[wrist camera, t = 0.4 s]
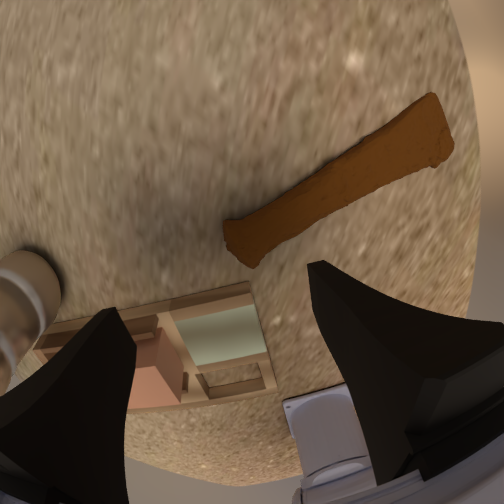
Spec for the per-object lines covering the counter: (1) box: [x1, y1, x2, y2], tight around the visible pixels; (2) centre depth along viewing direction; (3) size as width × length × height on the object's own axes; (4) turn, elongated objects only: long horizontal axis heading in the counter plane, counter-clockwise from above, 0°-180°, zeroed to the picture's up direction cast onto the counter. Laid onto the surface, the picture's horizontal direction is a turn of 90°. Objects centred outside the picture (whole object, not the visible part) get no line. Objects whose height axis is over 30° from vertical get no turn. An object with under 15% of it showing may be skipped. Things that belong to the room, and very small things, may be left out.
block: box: [128, 327, 184, 409], centre depth 20 cm, size 4×4×4 cm
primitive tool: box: [223, 92, 454, 269], centre depth 18 cm, size 19×6×4 cm, turn 123°
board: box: [33, 281, 279, 414], centre depth 23 cm, size 12×19×4 cm, turn 103°
